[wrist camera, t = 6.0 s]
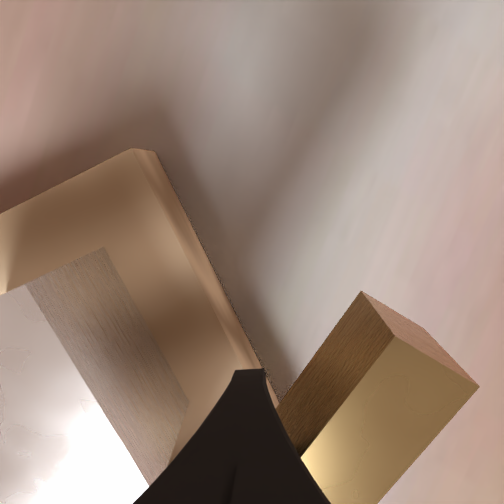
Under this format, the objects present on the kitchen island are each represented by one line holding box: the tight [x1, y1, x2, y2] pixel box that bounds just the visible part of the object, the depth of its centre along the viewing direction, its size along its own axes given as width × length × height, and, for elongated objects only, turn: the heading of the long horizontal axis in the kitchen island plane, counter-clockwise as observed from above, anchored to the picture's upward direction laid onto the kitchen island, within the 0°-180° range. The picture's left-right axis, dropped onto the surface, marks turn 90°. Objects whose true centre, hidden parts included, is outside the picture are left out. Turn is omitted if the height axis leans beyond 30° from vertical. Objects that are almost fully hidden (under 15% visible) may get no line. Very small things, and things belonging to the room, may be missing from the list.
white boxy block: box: [0, 247, 189, 504], centre depth 14 cm, size 8×5×5 cm, turn 25°
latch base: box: [0, 148, 279, 465], centre depth 15 cm, size 16×11×8 cm, turn 25°
